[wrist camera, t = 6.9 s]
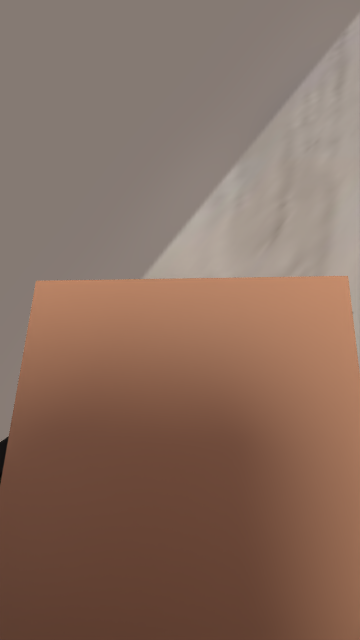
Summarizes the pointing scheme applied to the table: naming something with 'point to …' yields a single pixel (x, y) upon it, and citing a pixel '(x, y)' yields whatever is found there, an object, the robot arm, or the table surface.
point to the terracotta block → (184, 463)
